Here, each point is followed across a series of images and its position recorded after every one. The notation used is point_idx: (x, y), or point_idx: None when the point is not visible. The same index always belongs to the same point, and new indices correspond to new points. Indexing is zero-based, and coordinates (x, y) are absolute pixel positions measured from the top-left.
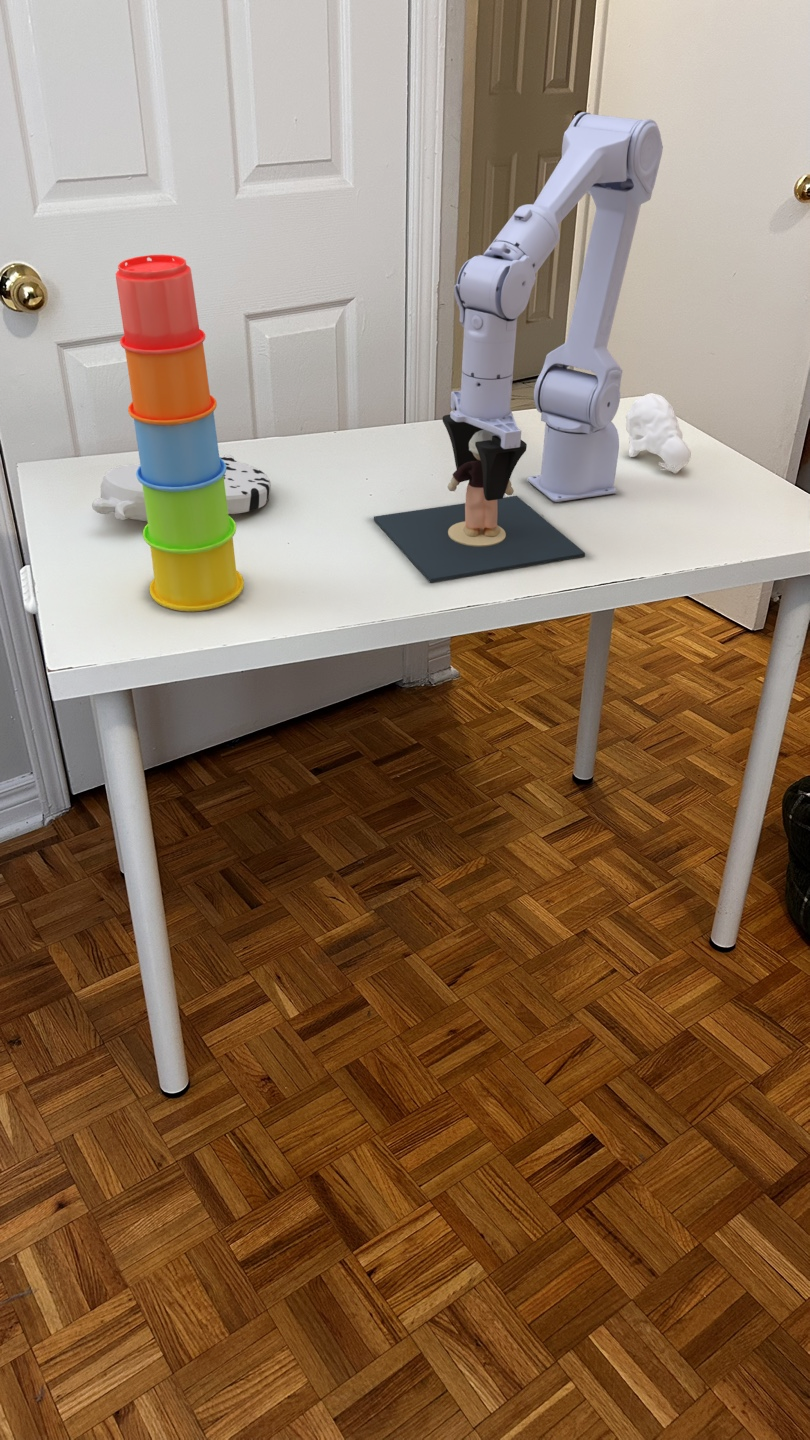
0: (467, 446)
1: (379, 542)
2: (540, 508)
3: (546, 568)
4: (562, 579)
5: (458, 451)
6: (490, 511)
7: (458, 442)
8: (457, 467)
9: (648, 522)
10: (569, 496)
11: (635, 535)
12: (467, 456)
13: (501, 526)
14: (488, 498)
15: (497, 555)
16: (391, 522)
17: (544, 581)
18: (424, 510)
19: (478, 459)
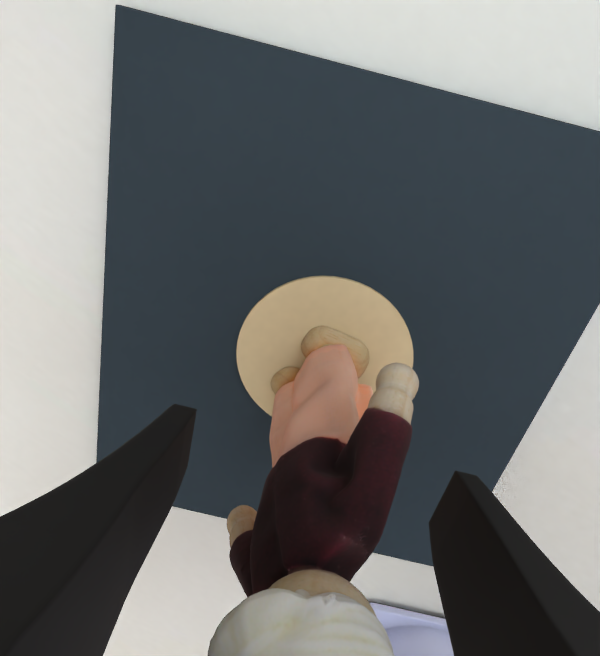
0: (492, 633)
1: (510, 46)
2: (367, 565)
3: (80, 380)
4: (12, 371)
5: (508, 573)
6: (279, 423)
7: (534, 631)
8: (480, 496)
9: (187, 649)
10: None
11: (148, 604)
12: (472, 576)
13: None
14: (164, 411)
15: (173, 317)
16: (587, 182)
17: (15, 330)
18: (567, 338)
19: (303, 570)
